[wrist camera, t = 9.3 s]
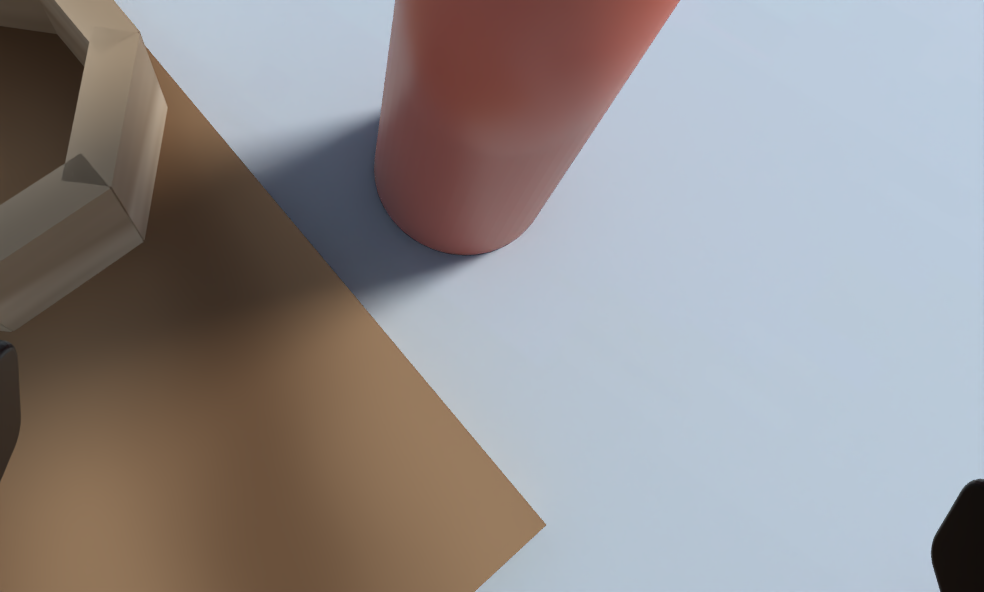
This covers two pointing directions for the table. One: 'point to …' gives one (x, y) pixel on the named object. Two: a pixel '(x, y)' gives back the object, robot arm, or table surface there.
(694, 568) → the table surface
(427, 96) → the red plug
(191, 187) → the walnut board
